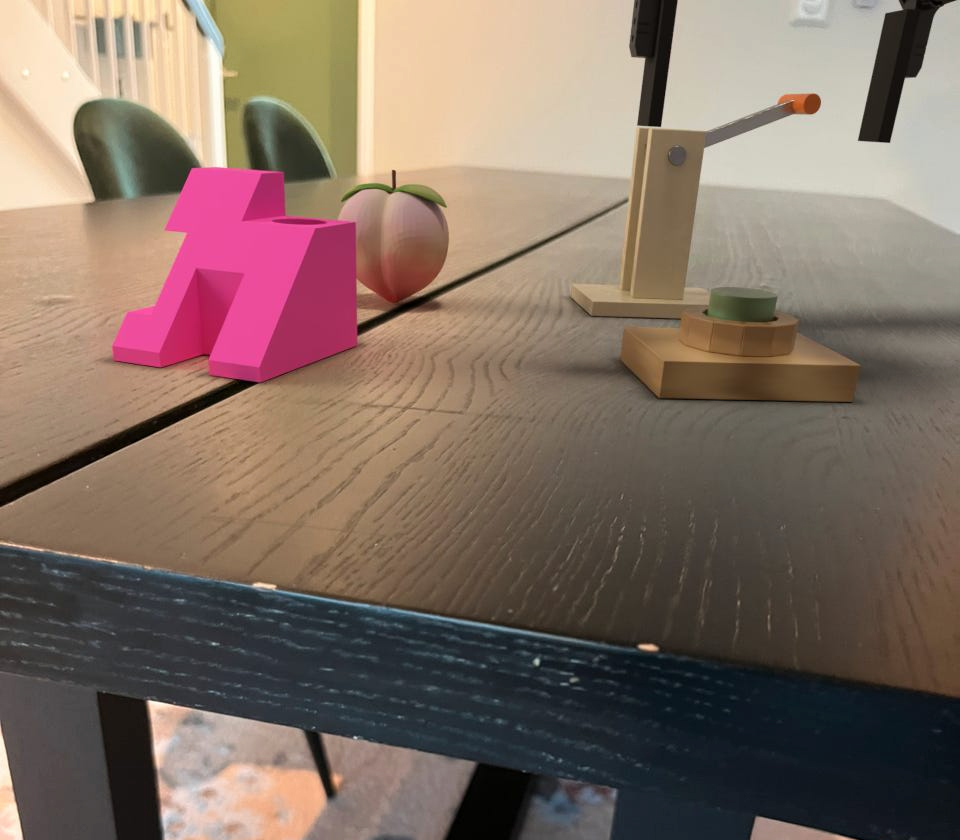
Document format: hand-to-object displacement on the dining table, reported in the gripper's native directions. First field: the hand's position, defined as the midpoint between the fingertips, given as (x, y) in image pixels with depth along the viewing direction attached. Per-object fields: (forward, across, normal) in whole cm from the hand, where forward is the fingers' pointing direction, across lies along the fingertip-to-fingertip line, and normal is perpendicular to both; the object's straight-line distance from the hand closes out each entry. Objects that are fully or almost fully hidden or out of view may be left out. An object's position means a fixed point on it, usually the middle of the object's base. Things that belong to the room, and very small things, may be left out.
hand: (762, 135), depth 57 cm
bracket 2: (+14, -1, -24) cm, 28 cm away
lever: (+1, -6, -24) cm, 25 cm away
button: (+10, 0, +1) cm, 10 cm away
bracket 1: (+14, +31, -3) cm, 34 cm away
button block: (+14, 0, +1) cm, 14 cm away
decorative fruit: (+14, +21, -23) cm, 34 cm away
